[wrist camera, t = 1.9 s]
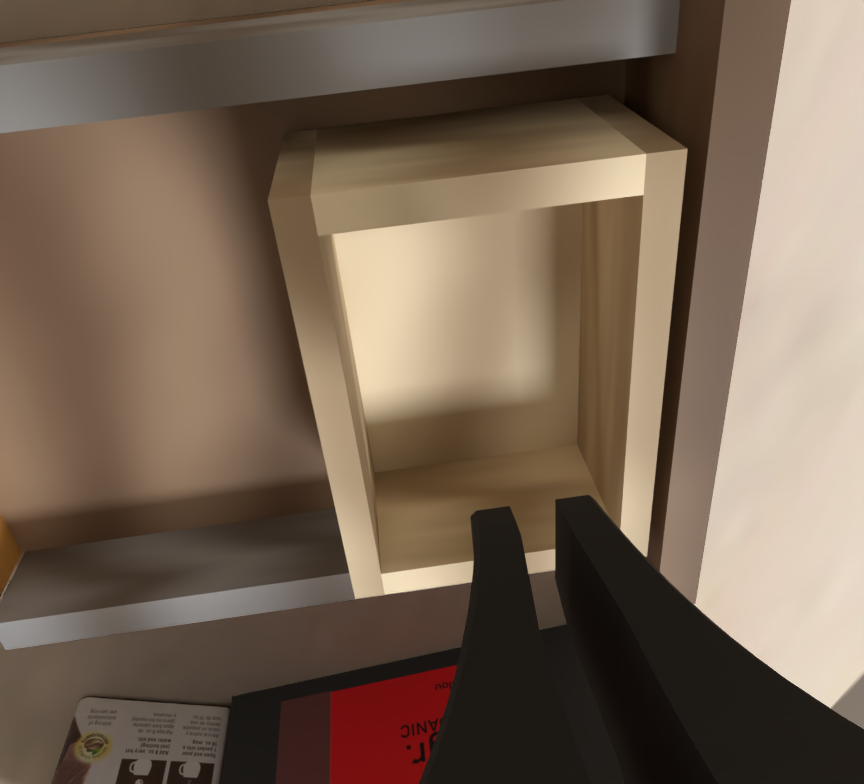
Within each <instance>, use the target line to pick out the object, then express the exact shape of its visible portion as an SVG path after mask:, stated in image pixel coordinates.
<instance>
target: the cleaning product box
mask: <svg viewBox="0 0 864 784" xmlns="http://www.w3.org/2000/svg"><path fill="white" fill-rule="evenodd" d="M539 631H540V635H541V639H542V644H543V648H544V651H545V654H546V657H547V660H548V663H549V666H550V669H551V672H552V675H553V678H554V681H555V684H556V687H557V690H558V693H559V696H560V699H561V702H562V705H563V708H564V710H565V713H566V716H567V719H568V722H569V725H570V728H571V731H572V733H573V736H574V739H575V742H576V744H577V747H578V750H579V752H580V755H581V758H582V760H583V763H584V766H585V768H586V771H587V774H588V777H589V779H590V782H591V784H625V782H624V778H623V774H622V771H621V768H620V765H619V762H618V759H617V756H616V753H615V751H614V748H613V745H612V742H611V740H610V737H609V734H608V732H607V729H606V727H605V724H604V721H603V719H602V716H601V714H600V711H599V708H598V706H597V703H596V701H595V698H594V696H593V693H592V690H591V688H590V685H589V683H588V680H587V677H586V675H585V672H584V670H583V667H582V664H581V662H580V659H579V656H578V654H577V651H576V649H575V646H574V643H573V641H572V638H571V635H570V633H569V630H568V626H567V625H562V626H558V627H553V628H548V629H544V630H539ZM460 651H461V647H460V648H456V649H451V650H446V651H442V652H437V653H432V654H428V655H423V656H418V657H414V658H409V659H405V660H400V661H395V662H391V663H386V664H381V665H377V666H372V667H367V668H363V669H358V670H354V671H349V672H344V673H340V674H335V675H330V676H326V677H321V678H316V679H312V680H307V681H302V682H298V683H293V684H289V685H284V686H279V687H275V688H270V689H265V690H261V691H256V692H251V693H247V694H242V695H238V696H233V697H232V703H231V710H230V718H229V725H228V732H227V740H226V747H225V754H224V762H223V769H222V776H221V784H419V781H420V779H421V776H422V774H423V771H424V769H425V766H426V764H427V761H428V759H429V756H430V753H431V751H432V748H433V745H434V742H435V739H436V736H437V733H438V730H439V727H440V724H441V721H442V717H443V714H444V711H445V708H446V705H447V702H448V698H449V695H450V691H451V687H452V684H453V680H454V676H455V672H456V668H457V664H458V660H459V656H460Z"/></svg>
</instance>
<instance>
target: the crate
mask: <svg viewBox="0 0 864 784" xmlns="http://www.w3.org/2000/svg"><path fill="white" fill-rule="evenodd" d="M687 150H688V149H687V148H686V147H684V146H683V145H682V144H680V143H679V142H677V141H676V140H674V139H673V138H671V137H670V136H668V135H667V134H665V133H664V132H662V131H661V130H660V129H658V128H657V127H655V126H654V125H652V124H651V123H649V122H648V121H646V120H645V119H643V118H642V117H640V116H639V115H638V114H636V113H635V112H633V111H632V110H630V109H629V108H627V107H626V106H624V105H623V104H621V103H620V102H619V101H617V100H616V99H614V98H613V97H611V96H610V95H608V94H606V95H597V96H589V97H581V98H573V99H564V100H556V101H548V102H539V103H531V104H523V105H515V106H506V107H498V108H490V109H481V110H473V111H465V112H456V113H448V114H440V115H432V116H423V117H415V118H407V119H398V120H390V121H382V122H374V123H365V124H357V125H349V126H340V127H332V128H324V129H315V130H307V131H299V132H291V133H284V136H283V140H282V144H281V149H280V153H279V157H278V161H277V165H276V169H275V173H274V177H273V181H272V185H271V189H270V193H269V197H268V205H269V209H270V214H271V218H272V223H273V228H274V232H275V237H276V241H277V246H278V250H279V255H280V259H281V264H282V268H283V273H284V277H285V282H286V287H287V291H288V296H289V300H290V305H291V309H292V314H293V318H294V323H295V327H296V332H297V337H298V341H299V346H300V350H301V355H302V359H303V364H304V368H305V373H306V378H307V382H308V387H309V391H310V396H311V400H312V405H313V409H314V414H315V418H316V423H317V428H318V432H319V437H320V441H321V446H322V450H323V455H324V459H325V464H326V468H327V473H328V478H329V482H330V487H331V491H332V496H333V500H334V505H335V509H336V514H337V518H338V523H339V528H340V532H341V537H342V541H343V546H344V550H345V555H346V559H347V564H348V568H349V573H350V578H351V582H352V587H353V591H354V596H355V599H358V598H365V597H372V596H379V595H386V594H393V593H400V592H407V591H414V590H421V589H427V588H434V587H441V586H448V585H455V584H462V583H469V582H472V576H473V562H474V554H473V542H472V530H471V518H470V516H471V515H472V514H473V513H474V512H475V511H477V510H484V509H491V508H498V507H505V506H510V508H511V510H512V513H513V515H514V518H515V520H516V523H517V525H518V528H519V531H520V534H521V537H522V542H523V547H524V553H525V558H526V563H527V569H528V574H531V573H538V572H545V571H552V570H555V499H562V498H569V497H576V496H583V495H590V496H591V497H593V498H594V499H595V500H596V501H597V503H598V504H599V505H600V506H601V507H602V509H603V510H604V511H605V512H606V514H607V515H608V516H609V517H610V518H611V519H612V521H613V522H614V523H615V524H616V525H617V526H618V528H619V529H620V530H621V531H622V532H623V533H624V534H625V536H626V537H627V538H628V539H629V540H630V541H631V542H632V543H633V544H634V546H635V547H636V548H637V549H638V550H639V551H640V552H641V553H642V554H643V555H644V556H645V557H647V552H648V542H649V532H650V522H651V512H652V502H653V492H654V482H655V472H656V462H657V452H658V442H659V431H660V421H661V411H662V401H663V391H664V381H665V371H666V361H667V351H668V341H669V331H670V321H671V311H672V301H673V291H674V281H675V271H676V261H677V251H678V241H679V231H680V220H681V210H682V200H683V190H684V180H685V170H686V160H687Z"/></svg>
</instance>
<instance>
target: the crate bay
mask: <svg viewBox="0 0 864 784" xmlns="http://www.w3.org/2000/svg"><path fill="white" fill-rule="evenodd" d="M790 3H791V0H375V1H366V2H357V3H349V4H340V5H331V6H322V7H314V8H305V9H296V10H287V11H279V12H270V13H261V14H252V15H244V16H235V17H226V18H217V19H209V20H200V21H191V22H182V23H174V24H165V25H156V26H147V27H139V28H130V29H121V30H112V31H104V32H95V33H86V34H77V35H69V36H60V37H51V38H42V39H34V40H25V41H16V42H7V43H0V596H1V594H2V592H3V590H4V588H5V586H6V583H7V581H10V583H9V585H8V588H7V590H6V592H5V594H4V596H3V598H2V600H1V602H0V642H1V644H2V645H3V647H4V648H5V650H11V649H18V648H25V647H32V646H39V645H46V644H53V643H60V642H67V641H74V640H80V639H87V638H94V637H101V636H108V635H115V634H122V633H129V632H136V631H143V630H150V629H156V628H163V627H170V626H177V625H184V624H191V623H198V622H205V621H212V620H219V619H225V618H232V617H239V616H246V615H253V614H260V613H267V612H274V611H281V610H288V609H294V608H301V607H308V606H315V605H322V604H329V603H336V602H343V601H350V600H357V599H355V596H354V591H353V587H352V582H351V578H350V573H349V568H348V564H347V559H346V555H345V550H344V546H343V541H342V537H341V532H340V528H339V523H338V518H337V514H336V509H335V505H334V500H333V496H332V491H331V487H330V482H329V478H328V473H327V468H326V464H325V459H324V455H323V450H322V446H321V441H320V437H319V432H318V428H317V423H316V418H315V414H314V409H313V405H312V400H311V396H310V391H309V387H308V382H307V378H306V373H305V368H304V364H303V359H302V355H301V350H300V346H299V341H298V337H297V332H296V327H295V323H294V318H293V314H292V309H291V305H290V300H289V296H288V291H287V287H286V282H285V277H284V273H283V268H282V264H281V259H280V255H279V250H278V246H277V241H276V237H275V232H274V228H273V223H272V218H271V214H270V209H269V205H268V197H269V193H270V189H271V185H272V181H273V177H274V173H275V169H276V165H277V161H278V157H279V153H280V149H281V144H282V140H283V136H284V133H291V132H299V131H307V130H315V129H324V128H332V127H340V126H349V125H357V124H365V123H374V122H382V121H390V120H398V119H407V118H415V117H423V116H432V115H440V114H448V113H456V112H465V111H473V110H481V109H490V108H498V107H506V106H515V105H523V104H531V103H539V102H548V101H556V100H564V99H573V98H581V97H589V96H597V95H606V94H608V95H610V96H611V97H613V98H614V99H616V100H617V101H619V102H620V103H621V104H623V105H624V106H626V107H627V108H629V109H630V110H632V111H633V112H635V113H636V114H638V115H639V116H640V117H642V118H643V119H645V120H646V121H648V122H649V123H651V124H652V125H654V126H655V127H657V128H658V129H660V130H661V131H662V132H664V133H665V134H667V135H668V136H670V137H671V138H673V139H674V140H676V141H677V142H679V143H680V144H682V145H683V146H684V147H686V148H687V149H688V150H687V160H686V170H685V180H684V190H683V200H682V210H681V220H680V231H679V241H678V251H677V261H676V271H675V281H674V291H673V301H672V311H671V321H670V331H669V341H668V351H667V361H666V371H665V381H664V391H663V401H662V411H661V421H660V431H659V442H658V452H657V462H656V472H655V482H654V492H653V502H652V512H651V522H650V532H649V542H648V552H647V557H646V558H647V559H648V560H649V561H650V562H651V563H652V565H653V566H654V567H655V568H656V569H657V570H658V571H659V572H660V573H661V574H662V575H663V576H664V577H665V578H666V579H667V580H668V581H669V582H670V583H671V584H672V585H673V586H674V587H675V588H676V589H678V590H679V591H680V592H681V593H682V594H683V595H684V596H685V597H686V598H687V599H688V600H689V601H690V602H691V603H692V604H695V602H696V596H697V589H698V583H699V577H700V570H701V564H702V558H703V552H704V545H705V539H706V533H707V526H708V520H709V514H710V507H711V501H712V495H713V488H714V482H715V476H716V470H717V463H718V457H719V451H720V444H721V438H722V432H723V425H724V419H725V413H726V406H727V400H728V394H729V388H730V381H731V375H732V369H733V362H734V356H735V350H736V343H737V337H738V331H739V325H740V318H741V312H742V306H743V299H744V293H745V287H746V280H747V274H748V268H749V261H750V255H751V249H752V243H753V236H754V230H755V224H756V217H757V211H758V205H759V198H760V192H761V186H762V179H763V173H764V167H765V161H766V154H767V148H768V142H769V135H770V129H771V123H772V116H773V110H774V104H775V97H776V91H777V85H778V79H779V72H780V66H781V60H782V53H783V47H784V41H785V34H786V28H787V22H788V15H789V9H790ZM552 571H555V570H552ZM545 572H550V571H545ZM538 573H543V572H538ZM531 574H536V573H531ZM469 583H472V582H469ZM462 584H467V583H462ZM455 585H460V584H455ZM448 586H453V585H448ZM441 587H446V586H441ZM434 588H439V587H434ZM427 589H432V588H427ZM421 590H426V589H421ZM414 591H419V590H414ZM407 592H412V591H407ZM400 593H405V592H400ZM393 594H398V593H393ZM386 595H391V594H386ZM379 596H384V595H379ZM372 597H377V596H372ZM365 598H370V597H365ZM358 599H363V598H358Z"/></svg>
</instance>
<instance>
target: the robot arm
mask: <svg viewBox="0 0 864 784" xmlns="http://www.w3.org/2000/svg"><path fill="white" fill-rule="evenodd" d="M470 518H471V530H472V542H473V554H474V562H473V576H472V585H471V594H470V603H469V609H468V615H467V621H466V626H465V631H464V636H463V642H462V647H461V651H460V656H459V660H458V664H457V668H456V672H455V676H454V680H453V684H452V687H451V691H450V695H449V698H448V702H447V705H446V708H445V711H444V714H443V717H442V721H441V724H440V727H439V730H438V733H437V736H436V739H435V742H434V745H433V748H432V751H431V753H430V756H429V759H428V761H427V764H426V766H425V769H424V771H423V774H422V776H421V779H420V781H419V784H591V782H590V779H589V777H588V774H587V771H586V768H585V766H584V763H583V760H582V758H581V755H580V752H579V750H578V747H577V744H576V742H575V739H574V736H573V733H572V731H571V728H570V725H569V722H568V719H567V716H566V713H565V710H564V708H563V705H562V702H561V699H560V696H559V693H558V690H557V687H556V684H555V681H554V678H553V675H552V672H551V669H550V666H549V663H548V660H547V657H546V654H545V651H544V648H543V644H542V639H541V635H540V631H539V627H538V622H537V617H536V611H535V606H534V601H533V595H532V590H531V585H530V579H529V574H528V569H527V563H526V558H525V553H524V547H523V542H522V537H521V534H520V531H519V528H518V525H517V523H516V520H515V518H514V515H513V513H512V510H511V508H510V506H505V507H498V508H491V509H484V510H477V511H475V512H474V513H473V514H472V515H471V516H470ZM555 579H556V583H557V587H558V591H559V595H560V599H561V603H562V607H563V611H564V615H565V618H566V622H567V626H568V630H569V633H570V635H571V638H572V641H573V643H574V646H575V649H576V651H577V654H578V656H579V659H580V662H581V664H582V667H583V670H584V672H585V675H586V677H587V680H588V683H589V685H590V688H591V690H592V693H593V696H594V698H595V701H596V703H597V706H598V708H599V711H600V714H601V716H602V719H603V721H604V724H605V727H606V729H607V732H608V734H609V737H610V740H611V742H612V745H613V748H614V751H615V753H616V756H617V759H618V762H619V765H620V768H621V771H622V774H623V778H624V782H625V784H864V729H862V728H861V727H859V726H857V725H856V724H854V723H852V722H851V721H849V720H847V719H846V718H844V717H842V716H841V715H839V714H838V713H836V712H835V711H833V710H832V709H830V708H829V707H827V706H826V705H824V704H823V703H821V702H820V701H818V700H817V699H815V698H814V697H812V696H811V695H809V694H808V693H806V692H805V691H803V690H802V689H800V688H799V687H797V686H796V685H794V684H793V683H791V682H790V681H788V680H787V679H785V678H784V677H782V676H781V675H780V674H778V673H777V672H776V671H774V670H773V669H772V668H770V667H769V666H768V665H766V664H765V663H764V662H762V661H761V660H760V659H758V658H757V657H755V656H754V655H753V654H752V653H750V652H749V651H748V650H747V649H745V648H744V647H743V646H742V645H740V644H739V643H738V642H736V641H735V640H734V639H733V638H731V637H730V636H729V635H728V634H727V633H725V632H724V631H723V630H722V629H721V628H719V627H718V626H717V625H716V624H715V623H714V622H713V621H711V620H710V619H709V618H708V617H707V616H706V615H705V614H703V613H702V612H701V611H700V610H699V609H698V608H697V607H696V606H695V605H694V604H692V603H691V602H690V601H689V600H688V599H687V598H686V597H685V596H684V595H683V594H682V593H681V592H680V591H679V590H678V589H676V588H675V587H674V586H673V585H672V584H671V583H670V582H669V581H668V580H667V579H666V578H665V577H664V576H663V575H662V574H661V573H660V572H659V571H658V570H657V569H656V568H655V567H654V566H653V565H652V563H651V562H650V561H649V560H648V559H647V558H646V557H645V556H644V555H643V554H642V553H641V552H640V551H639V550H638V549H637V548H636V547H635V546H634V544H633V543H632V542H631V541H630V540H629V539H628V538H627V537H626V536H625V534H624V533H623V532H622V531H621V530H620V529H619V528H618V526H617V525H616V524H615V523H614V522H613V521H612V519H611V518H610V517H609V516H608V515H607V514H606V512H605V511H604V510H603V509H602V507H601V506H600V505H599V504H598V503H597V501H596V500H595V499H594V498H593V497H591V496H590V495H583V496H576V497H569V498H562V499H555Z"/></svg>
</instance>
